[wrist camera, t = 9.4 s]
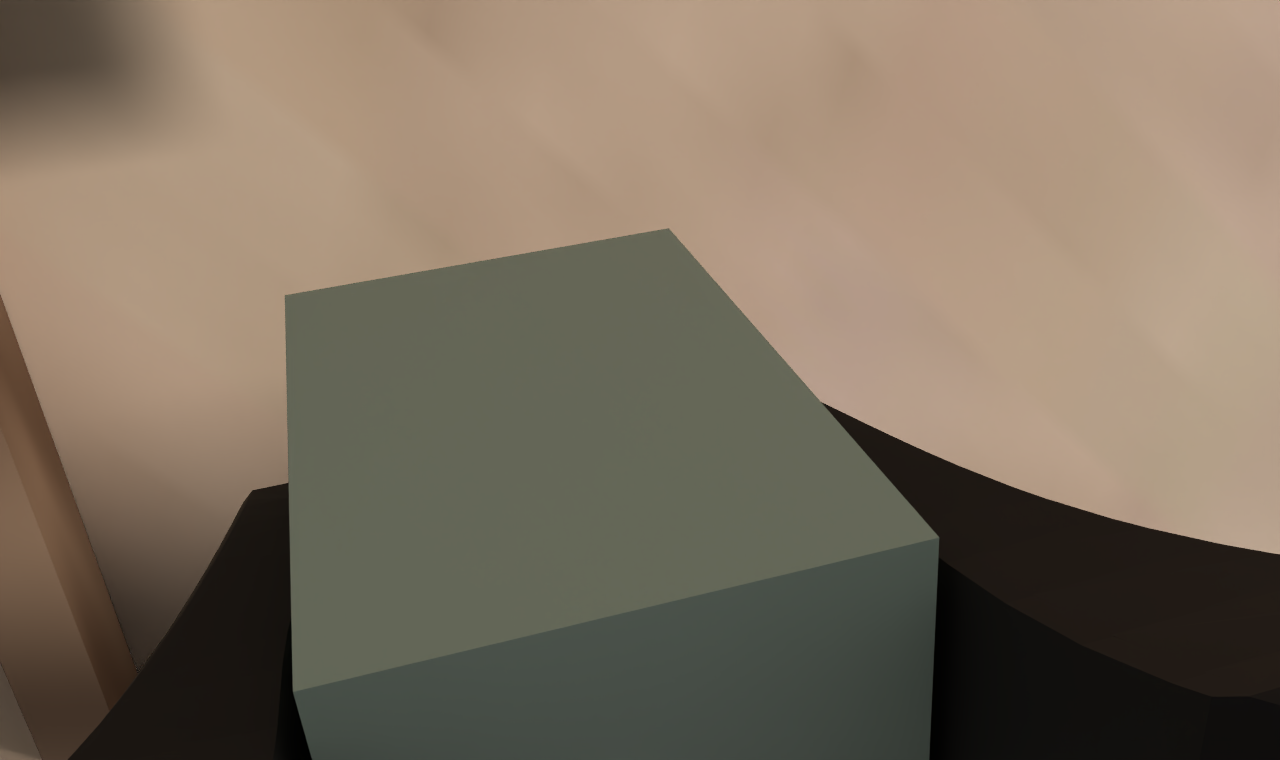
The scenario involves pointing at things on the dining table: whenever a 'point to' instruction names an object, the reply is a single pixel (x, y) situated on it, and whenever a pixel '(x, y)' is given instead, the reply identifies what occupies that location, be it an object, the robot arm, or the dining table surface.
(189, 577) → the dining table surface
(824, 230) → the dining table surface
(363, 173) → the dining table surface
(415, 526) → the sage block
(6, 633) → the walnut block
